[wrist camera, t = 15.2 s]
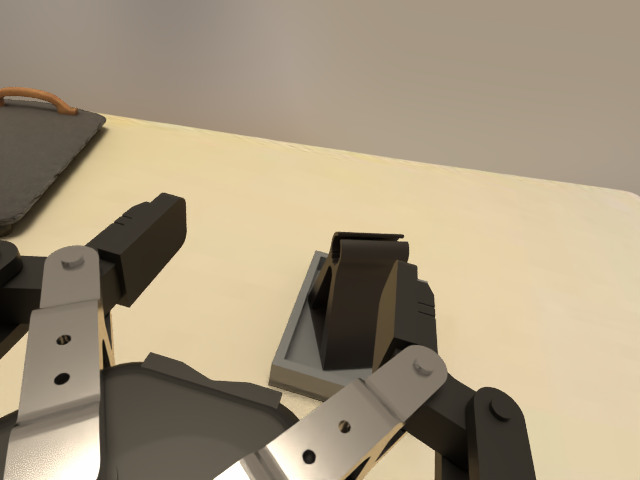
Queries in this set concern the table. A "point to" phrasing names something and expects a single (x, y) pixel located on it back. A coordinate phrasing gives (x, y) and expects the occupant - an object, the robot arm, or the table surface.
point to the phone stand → (352, 296)
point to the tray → (308, 350)
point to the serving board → (36, 147)
